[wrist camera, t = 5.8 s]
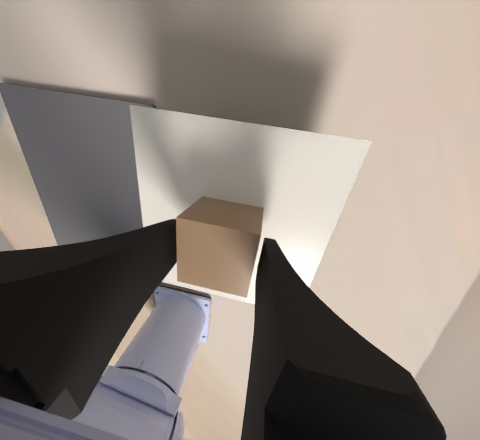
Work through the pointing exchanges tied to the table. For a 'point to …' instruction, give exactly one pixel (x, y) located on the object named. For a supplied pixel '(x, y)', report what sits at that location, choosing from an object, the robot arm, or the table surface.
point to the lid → (240, 194)
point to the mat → (78, 160)
